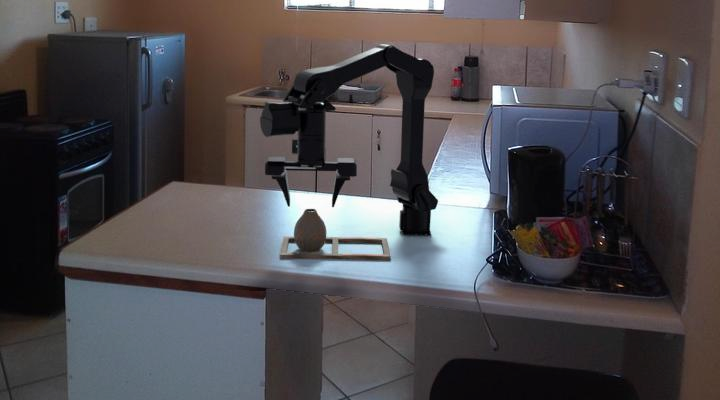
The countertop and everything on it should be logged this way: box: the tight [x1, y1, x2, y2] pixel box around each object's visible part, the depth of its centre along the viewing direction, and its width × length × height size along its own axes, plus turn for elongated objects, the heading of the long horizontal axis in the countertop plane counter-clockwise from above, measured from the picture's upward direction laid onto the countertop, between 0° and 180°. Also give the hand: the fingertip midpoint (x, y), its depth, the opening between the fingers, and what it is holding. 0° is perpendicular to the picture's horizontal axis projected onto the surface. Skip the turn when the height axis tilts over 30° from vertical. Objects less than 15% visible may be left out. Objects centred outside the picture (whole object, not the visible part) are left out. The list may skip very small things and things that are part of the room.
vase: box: [293, 208, 327, 253], centre depth 162 cm, size 7×7×9 cm
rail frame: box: [279, 236, 392, 261], centre depth 163 cm, size 23×12×1 cm, turn 92°
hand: (310, 206), depth 161 cm, fingers open, 9 cm apart
